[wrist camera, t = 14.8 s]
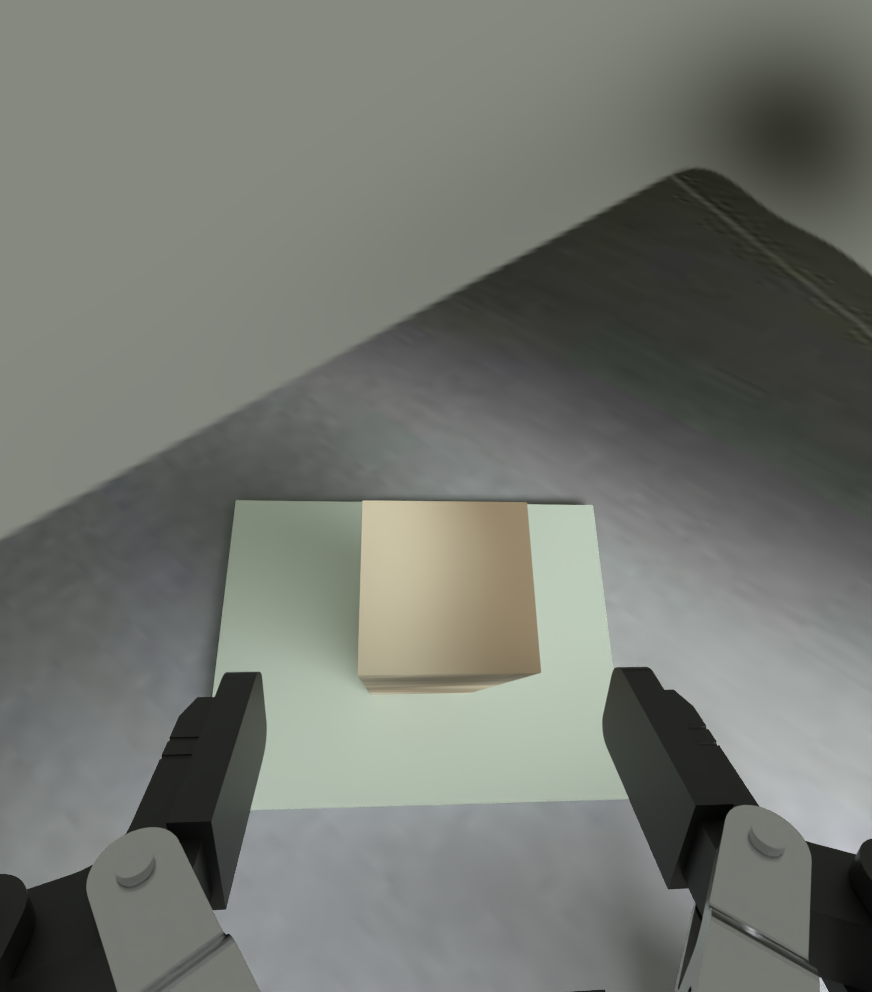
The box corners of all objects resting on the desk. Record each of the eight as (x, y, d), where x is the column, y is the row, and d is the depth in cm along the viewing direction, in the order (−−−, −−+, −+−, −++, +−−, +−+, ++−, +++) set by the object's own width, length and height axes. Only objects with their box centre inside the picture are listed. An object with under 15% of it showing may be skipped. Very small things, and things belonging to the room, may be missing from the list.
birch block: (370, 694, 22) (357, 675, 12) (372, 593, 24) (362, 500, 14) (471, 693, 23) (541, 672, 12) (467, 593, 24) (527, 502, 14)
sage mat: (203, 809, 21) (198, 811, 20) (239, 504, 25) (235, 500, 25) (622, 797, 22) (628, 799, 22) (588, 509, 27) (592, 505, 26)
